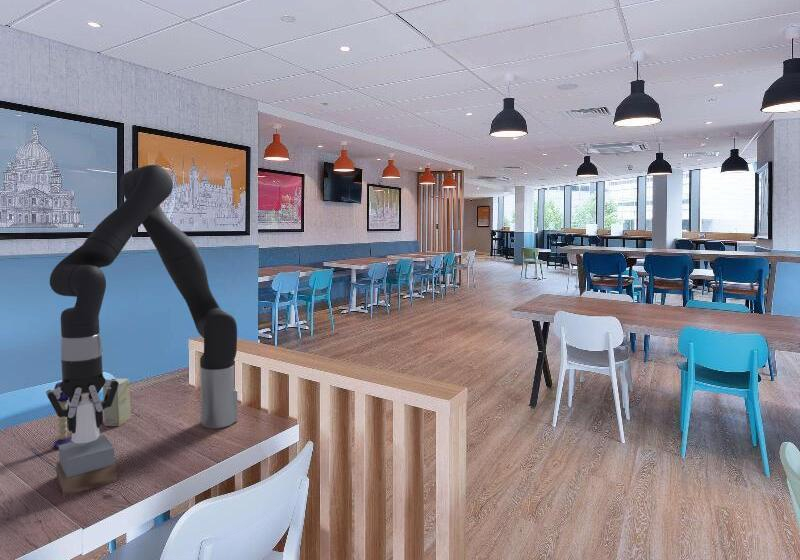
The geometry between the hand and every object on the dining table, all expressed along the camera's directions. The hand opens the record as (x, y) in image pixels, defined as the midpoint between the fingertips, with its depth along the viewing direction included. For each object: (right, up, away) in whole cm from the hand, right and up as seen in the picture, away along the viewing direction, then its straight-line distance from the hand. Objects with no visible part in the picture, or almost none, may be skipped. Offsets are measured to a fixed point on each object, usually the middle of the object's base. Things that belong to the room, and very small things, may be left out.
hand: (85, 429), depth 110 cm
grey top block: (0, -8, +1) cm, 8 cm away
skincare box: (-11, -8, +32) cm, 35 cm away
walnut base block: (-1, -12, +1) cm, 12 cm away
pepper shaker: (0, -2, 0) cm, 2 cm away
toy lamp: (-16, -10, +17) cm, 25 cm away
